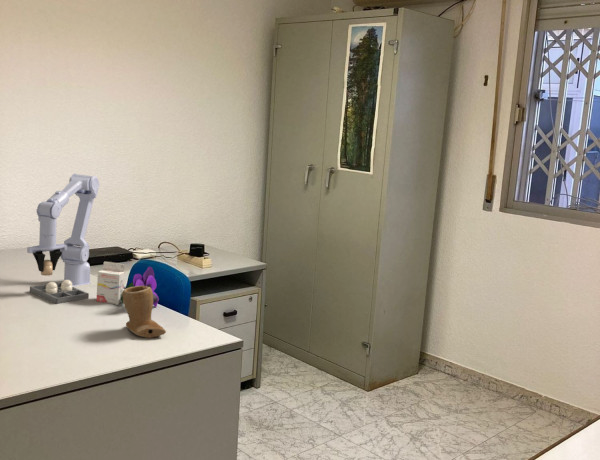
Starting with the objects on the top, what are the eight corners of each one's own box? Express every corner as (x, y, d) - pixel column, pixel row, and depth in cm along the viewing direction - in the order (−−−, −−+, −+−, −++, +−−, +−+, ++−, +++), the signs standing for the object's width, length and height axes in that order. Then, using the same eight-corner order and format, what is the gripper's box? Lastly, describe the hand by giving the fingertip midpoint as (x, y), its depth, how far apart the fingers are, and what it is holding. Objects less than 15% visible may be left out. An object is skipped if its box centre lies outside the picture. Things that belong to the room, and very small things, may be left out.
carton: (61, 288, 254) (61, 282, 253) (88, 299, 242) (88, 293, 242) (29, 293, 244) (29, 286, 244) (56, 305, 232) (56, 298, 232)
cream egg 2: (68, 292, 248) (68, 278, 247) (74, 294, 246) (74, 280, 245) (58, 293, 245) (59, 279, 244) (64, 296, 242) (64, 281, 242)
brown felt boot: (116, 326, 216) (118, 282, 213) (151, 323, 222) (153, 280, 220) (129, 341, 203) (131, 295, 201) (166, 338, 209) (169, 292, 207)
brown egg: (48, 272, 245) (49, 258, 244) (54, 274, 242) (54, 260, 241) (38, 273, 242) (39, 259, 241) (44, 276, 239) (44, 261, 238)
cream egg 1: (53, 294, 243) (53, 280, 242) (59, 296, 241) (59, 282, 240) (43, 295, 240) (43, 281, 239) (49, 298, 238) (49, 283, 237)
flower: (116, 323, 235) (146, 312, 230) (101, 284, 235) (130, 272, 230) (139, 313, 248) (167, 302, 243) (125, 276, 248) (153, 265, 243)
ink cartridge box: (95, 302, 240) (97, 263, 237) (101, 299, 245) (103, 260, 242) (118, 305, 239) (119, 266, 236) (123, 301, 244) (125, 263, 241)
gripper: (60, 231, 248) (59, 266, 250) (23, 233, 237) (22, 270, 239) (70, 234, 243) (69, 270, 245) (33, 237, 232) (32, 274, 234)
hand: (46, 270), depth 242 cm, fingers closed on brown egg, 4 cm apart
